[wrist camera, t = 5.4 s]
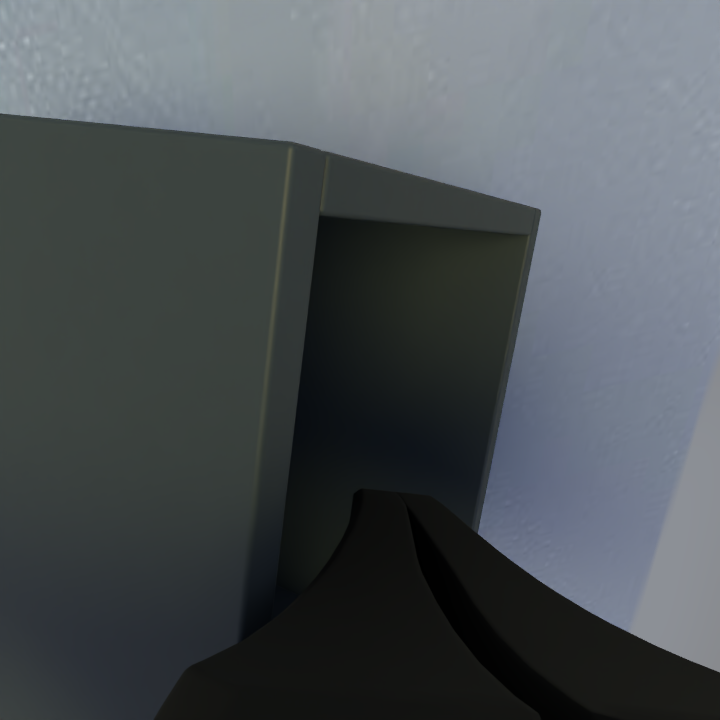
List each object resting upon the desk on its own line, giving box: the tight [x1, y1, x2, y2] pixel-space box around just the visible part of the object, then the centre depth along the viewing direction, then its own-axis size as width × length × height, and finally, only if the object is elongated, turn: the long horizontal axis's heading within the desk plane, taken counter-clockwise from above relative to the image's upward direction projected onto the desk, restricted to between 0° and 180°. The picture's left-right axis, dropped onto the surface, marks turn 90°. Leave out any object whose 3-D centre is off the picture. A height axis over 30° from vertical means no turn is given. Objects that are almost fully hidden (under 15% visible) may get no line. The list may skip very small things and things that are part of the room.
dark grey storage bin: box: [0, 114, 541, 720], centre depth 13 cm, size 8×12×10 cm
